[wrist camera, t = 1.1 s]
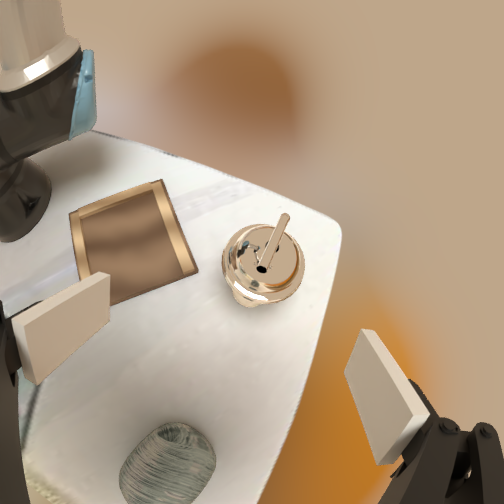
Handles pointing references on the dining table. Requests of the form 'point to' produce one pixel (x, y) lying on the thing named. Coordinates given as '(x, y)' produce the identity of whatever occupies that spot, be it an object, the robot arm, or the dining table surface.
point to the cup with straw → (263, 264)
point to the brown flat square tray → (131, 241)
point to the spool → (168, 467)
